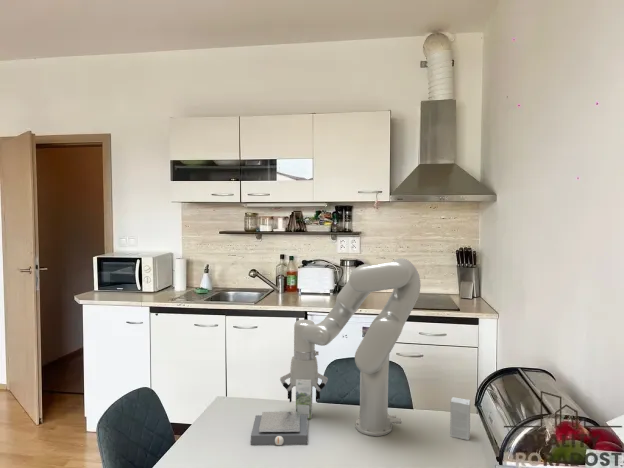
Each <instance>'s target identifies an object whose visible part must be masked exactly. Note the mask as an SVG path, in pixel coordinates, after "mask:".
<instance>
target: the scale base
mask: <svg viewBox="0 0 624 468" xmlns="http://www.w3.org/2000/svg"><path fill="white" fill-rule="evenodd" d="M261 417H262V414H260V415H259V414H258V415H257V414H256V415H255V417H254V420H253V421H254V422H253V426H252V430H251V433H250V434H251V435H250V445H251V446H265V445H266V446H267V445H268V446H270V445H271V446H272V445H274V446H283V445H284V446H286V445H289V446H291V445H295V446H297V445H300V446H301V445H305V446H306V445H308V419H307V415H300V432H259V427H260V422H261Z"/></svg>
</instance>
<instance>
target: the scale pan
mask: <svg viewBox="0 0 624 468" xmlns="http://www.w3.org/2000/svg"><path fill="white" fill-rule="evenodd" d="M261 415H262V417H261V422H260V427H259V432H300V412H296V411H262V413H261Z"/></svg>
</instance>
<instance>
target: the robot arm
mask: <svg viewBox="0 0 624 468" xmlns="http://www.w3.org/2000/svg"><path fill="white" fill-rule="evenodd" d="M348 277H349V278H348V280H347V282H346V283H345V284H344V286H343V287H342V288H341V290H340V291H339V293H337V296H336V298H335V299H336V301H335V303H334V305H333V307H332V308H331V310H330V311H329V312H328V314H327V315H326V317H324V319H323V320H322V321H320V322H319V323H316V324H315V323H314V322H315V321H313V320H309V319H299V320H296V321H295V323H294V325H293V327H294V329H293V356H292V357H291V360H290V372H289V373H287V374H285V375H283V376H281V377H280V379H279V380H280V382H281V384H282V387H284V389H285V390H286V391H287V400H289V403H291V402H292V401H293V400H292V399H293V398H292V397H293V396H292V394H293V388H294V387H296V380H309V379H311V381H312V388H315V403H319V400H320V399H321V391H322V389H324V387H326V384H327V383H328V381H329V379H328V377H327V376H325V375H323V374H321V373H319V370H318V369H319V367H318V358H317V357H316V356H319V351H317V350H316V349H315V347H316V346H315V345H317V346H327V345H329V344H330V343H331V342H332V341H333V340H334V339H335V338H336V337H337V336H338V335H339V334H340V332H341V331H342V330H343V329H344V327H345V326H346V325H347V324H348V322H349V321H350V319H351V318H352V317H353V315H354V314H356V312H357V311H358V309H359V308H360V307H361V305H362V304H363V303H364V301H365V300H366V299H367V297H369V295H370V294H371V293H372V292H381V291H386V290H387V291H388V290H392V292H391V294H390V296H389V297H388V299H387V301H386V303H385V305H384V306H383V308H382V310H381V312H380V313H378V315H377V316H376V317H375V318H374V319H373V320H372V322H371V324H370V325H369V327H368V329H366V332H365V335H364V336H363V338H362V340H361V341H360V344H359V345H358V347H357V349H356V351H355V354H354V363H355V365H356V368H357V369H358V370H359V371H360V373H359V375H360V377H359V379H360V380H359V418H358V419H356V420H355V423H354V424H355V425H354V426H355V428H356V430H357V431H358V432H360V433H361V434H364V435H366V436H371V437H372V436H375V437H381V436H385V435H388V434H390V432H391V431H392V430H393V424H396V425H400V424H402V423H403V422H402V421H403V420H402V418H401V417H397V415H396V414H392V415H391V414H389V412H388V411H389V410H388V407H389V402H388V401H389V398H388V397H389V370H390V369H389V367H390V355H391V352H392V350H393V348H394V347H395V345H396V343H397V341H398V339H399V338H400V336H401V334H402V332H403V329H404V325H405V324H406V322H407V321H408V318H409V317H410V315H411V313H412V311H413V309H414V307H415V305H416V303H417V301H418V299H419V296H420V293H421V284H422V283H421V278H420V274H419V271H418V270H417V268H416V266H415V265H414V264H413V262H411V261H409V259H406V258H402V257H401V258H399V257H398V258H396V259H393V260H392V261H390V262H385V263H379V264H370V263H369V264H368V263H365V264H361V265H359V266H357V267H355V268H354V269H352V271H351V272H350V275H349V276H348ZM288 379H289V383H287V382H286V380H288ZM319 380H322V382H321V383H319Z"/></svg>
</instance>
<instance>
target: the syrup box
mask: <svg viewBox="0 0 624 468" xmlns="http://www.w3.org/2000/svg"><path fill="white" fill-rule="evenodd" d="M295 412H300V415H307V420H311V419H312V414H313V387H312V381H311V379H309V380H296V386H295Z"/></svg>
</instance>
